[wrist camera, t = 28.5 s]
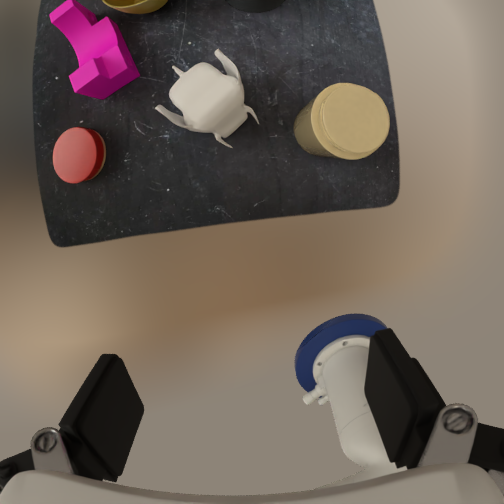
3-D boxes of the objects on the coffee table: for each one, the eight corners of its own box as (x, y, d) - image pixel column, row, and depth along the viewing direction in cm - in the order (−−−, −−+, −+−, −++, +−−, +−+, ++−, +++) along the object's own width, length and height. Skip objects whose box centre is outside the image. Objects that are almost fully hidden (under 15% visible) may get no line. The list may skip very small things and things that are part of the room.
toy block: (140, 75, 33) (117, 62, 26) (102, 99, 34) (74, 92, 27) (108, 5, 29) (86, -14, 21) (75, 28, 29) (49, 14, 22)
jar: (322, 168, 37) (358, 177, 24) (281, 128, 35) (297, 115, 22) (359, 131, 35) (409, 123, 22) (319, 91, 34) (353, 62, 20)
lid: (70, 122, 34) (61, 122, 32) (111, 135, 35) (103, 135, 33) (56, 172, 36) (47, 174, 34) (95, 188, 37) (87, 190, 35)
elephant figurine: (219, 163, 37) (208, 166, 28) (156, 101, 34) (130, 89, 26) (274, 112, 35) (280, 100, 26) (209, 51, 32) (197, 26, 24)
